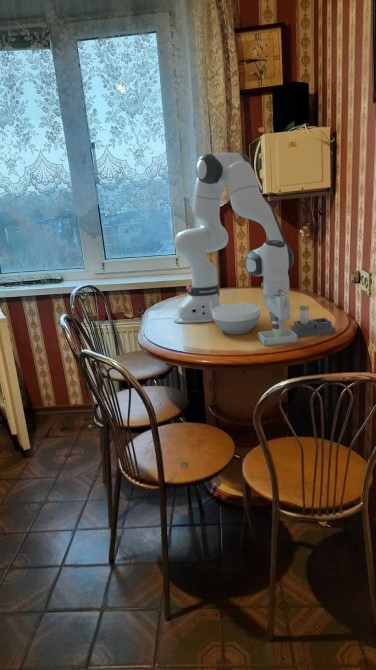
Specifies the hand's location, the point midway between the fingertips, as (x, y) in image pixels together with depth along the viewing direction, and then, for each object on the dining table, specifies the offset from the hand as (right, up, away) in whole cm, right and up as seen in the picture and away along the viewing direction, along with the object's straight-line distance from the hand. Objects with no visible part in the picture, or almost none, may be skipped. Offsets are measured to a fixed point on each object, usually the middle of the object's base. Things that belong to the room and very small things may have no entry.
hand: (277, 325), depth 167 cm
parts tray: (+1, -5, +2) cm, 6 cm away
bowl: (-12, -2, +18) cm, 22 cm away
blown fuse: (0, -5, +2) cm, 5 cm away
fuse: (+11, -1, +7) cm, 13 cm away
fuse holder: (+15, -2, +8) cm, 17 cm away
